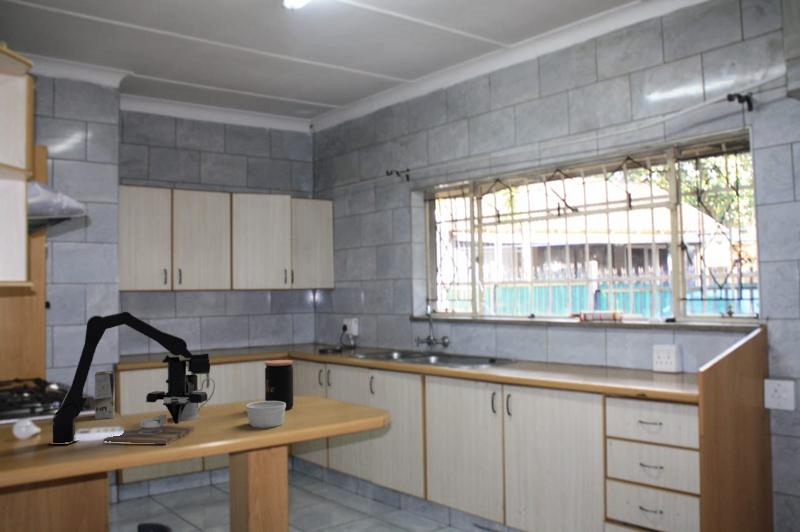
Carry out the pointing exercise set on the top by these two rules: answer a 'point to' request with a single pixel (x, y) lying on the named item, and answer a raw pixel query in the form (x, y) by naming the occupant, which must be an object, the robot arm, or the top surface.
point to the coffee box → (104, 394)
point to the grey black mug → (192, 408)
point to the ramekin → (266, 413)
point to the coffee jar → (279, 382)
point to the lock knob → (153, 424)
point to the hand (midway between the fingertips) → (177, 423)
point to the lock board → (151, 435)
